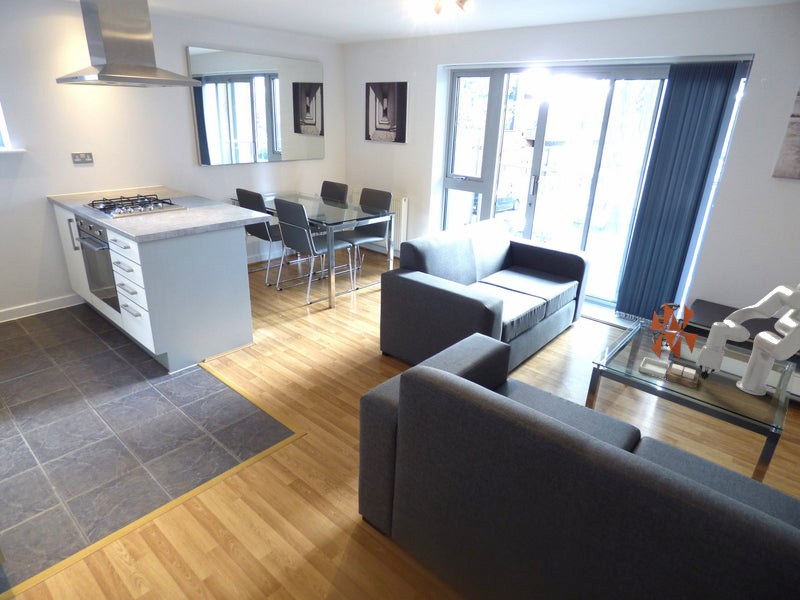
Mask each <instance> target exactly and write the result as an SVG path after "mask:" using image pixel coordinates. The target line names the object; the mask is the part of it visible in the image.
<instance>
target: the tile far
mask: <svg viewBox="0 0 800 600" xmlns="http://www.w3.org/2000/svg"><path fill="white" fill-rule="evenodd" d="M671 366H672V368H671V371H670V372H672V373H675V374H678V375H681V374H682V371H683V369H684V368H685V366H683V365H679V364H676V363H672V364H671Z"/></svg>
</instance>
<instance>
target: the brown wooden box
mask: <svg viewBox="0 0 800 600" xmlns="http://www.w3.org/2000/svg"><path fill="white" fill-rule="evenodd" d="M671 368H672V364H669V365H668V368H667V371H666V373H665V376H664V379H665V378H666V379H665V380H667V379H668V381H670V382H674V383H677V384H681V385H683V386H687V387H690V388H693V389H696V387H697V385H698V380H699V376H700V373H697V372H695V375H694V378H693V379H691V378H688V377H685V376H682V375H683V371H684V368H683V371H682V374H681V375H678V374H675V373H672V372H670V371H671Z"/></svg>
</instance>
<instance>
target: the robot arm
mask: <svg viewBox="0 0 800 600" xmlns="http://www.w3.org/2000/svg"><path fill="white" fill-rule="evenodd" d="M785 307H787V308H788V309H789V310H788V311H787V312H785V313H784V314H783V315H781V317H780V318H779V319H778V320H777V321H776V322H775V323H774V329H775V330H776V331H777V332H778V333H779V334H780V335H782V336H784V337H781V336H779V335H778V334H776V333H774V332H772V331H769V330H763V331H760V332H759V333H757V334H756V335H755V338H754V340H753V346H752V350H751V354H750V357H749V359H748V362H747V365H746V368H745V370H744V373H743V375H742V378H741V380H738V381H737V382H736V384H735V385H736V387H737V388H738V389H739V390H741V391H743V392H745V393H747V394H750V395H754V396H759V397H760V396H766V394H767V393H771V394H775V393H776V389H774V388H773V387H771V386H768V385H767V381H768V379H769V376H770V374H771V371H772V369H773V367H774V363H775V360H777V361H785V360H788V359H790V358H791V357H793V356H794V355H795V354H796V353H797V352H798V351H800V282H799V283H798V285H796V288H794V287H793V286H790V285H785V284H781V285H778V286H776V287H775V288H774V289H772V291H770V292H769V293H768V294H766V295H765V296H764V297H763V298H762V299H760V300H759V301H758V302H756V303H755V304H753V305H751V306H746V307H743V308H741V309H738V310H736V311H734V312H732V313H731V314H730V315H728V316H727V317H726V318H724V319H723V320H722V321H715V322H713V323H712V324H711V328H710V331H709V333H708V337H707V340H706V343H705V344H704V345H703V346H702V347H701V349H700V351H699V354H698V356H697V361H696V362H695V364H694V365H695V366H697V367H698V368H700V370H701V375H700V377H701V379H702V380H704V381H706V380H707V379H708V377H709V375H710V374H711V373H713V372H715V373H716V372H717V373H719V372H721V367H722V365H723V360H724V356H725V351H727V350H728V347H727V346H726V343H727V340H730V341H733V342H737V343H738V342H739V343H741V342H746V341H747V340H749V338H750V337H751V333H750V331H749V330H748V329H747V328H746V327H744V326H743V325H741V324H742V323H744V322H746V321H748V320H752V319H770V318H772V317H773V316H774V315H776V314H777V313H778V312H779V311H782V309H784V308H785ZM706 368H708V369H706Z"/></svg>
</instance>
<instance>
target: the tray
mask: <svg viewBox="0 0 800 600" xmlns="http://www.w3.org/2000/svg"><path fill="white" fill-rule="evenodd" d="M669 365H670V364H669V363H667V362H663V361H660V360H658V359H657V360H656V359H653V358H650V357H647V356H644V358H643V360H642V361H641V363H640V365H639V368H638V372H639V373H643V374H645V373H646V374H645V375H648V374H650V375H649V376H652V375H654V376H653V377H655V376H657V377H656V378H658V377H661V378H663V379H665V376H666V373H667V370H668V368H669ZM661 378H660V379H661Z"/></svg>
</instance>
